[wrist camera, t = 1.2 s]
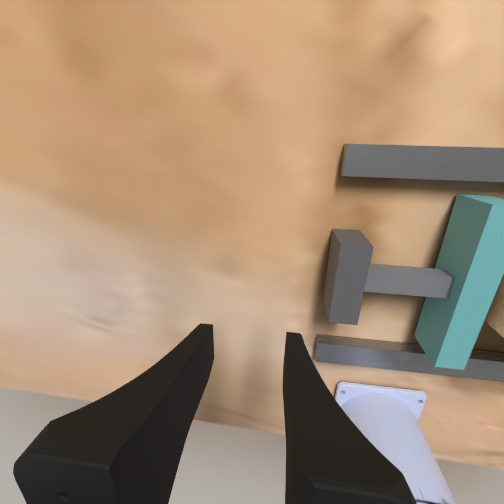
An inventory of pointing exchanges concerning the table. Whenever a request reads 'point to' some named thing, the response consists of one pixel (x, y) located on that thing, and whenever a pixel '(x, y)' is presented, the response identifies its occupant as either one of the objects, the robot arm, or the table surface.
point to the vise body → (414, 167)
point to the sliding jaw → (429, 279)
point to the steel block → (497, 310)
